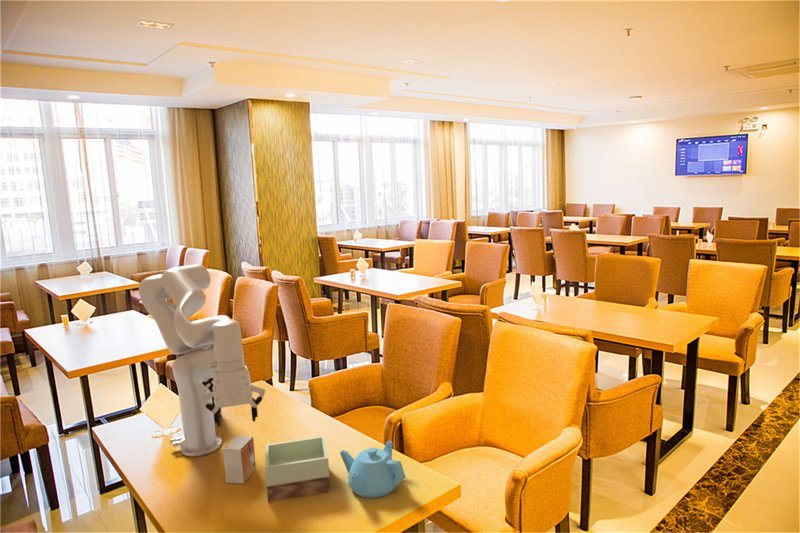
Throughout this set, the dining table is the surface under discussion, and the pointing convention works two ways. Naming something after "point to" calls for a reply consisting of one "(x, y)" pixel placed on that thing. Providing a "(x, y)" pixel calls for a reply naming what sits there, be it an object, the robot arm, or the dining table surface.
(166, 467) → the dining table surface
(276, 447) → the upper crate
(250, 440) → the small box
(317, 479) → the lower crate
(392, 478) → the teapot
